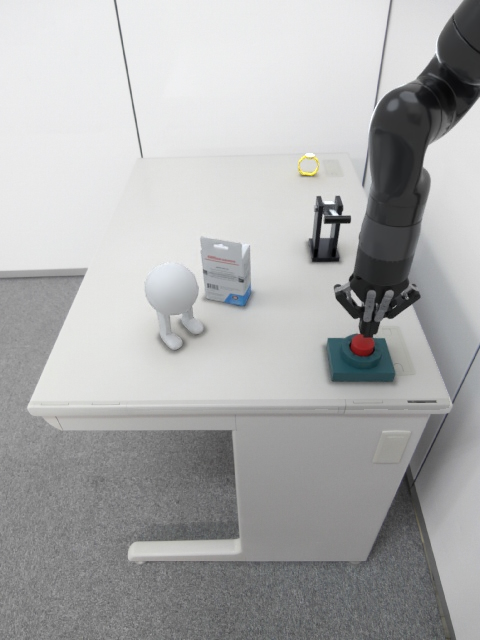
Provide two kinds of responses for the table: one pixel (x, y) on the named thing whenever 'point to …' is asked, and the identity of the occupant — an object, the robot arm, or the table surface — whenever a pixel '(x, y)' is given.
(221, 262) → the ink box
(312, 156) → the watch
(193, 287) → the toy character
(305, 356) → the table surface
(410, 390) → the table surface
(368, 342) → the stop button
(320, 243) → the bracket
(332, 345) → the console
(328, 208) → the lever
